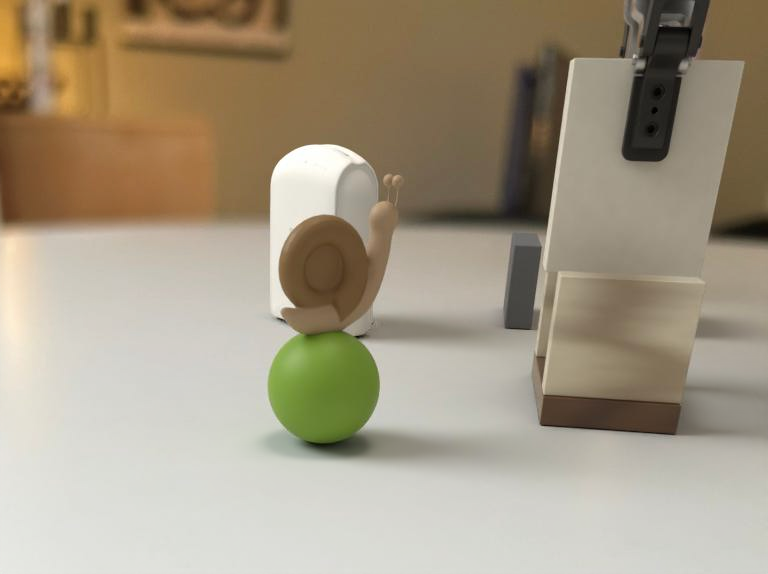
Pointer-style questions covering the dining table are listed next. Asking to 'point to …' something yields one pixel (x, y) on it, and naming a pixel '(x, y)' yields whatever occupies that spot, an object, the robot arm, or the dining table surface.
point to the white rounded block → (319, 204)
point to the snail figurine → (330, 323)
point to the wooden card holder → (615, 349)
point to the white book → (638, 174)
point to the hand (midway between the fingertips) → (638, 157)
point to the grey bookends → (521, 280)
